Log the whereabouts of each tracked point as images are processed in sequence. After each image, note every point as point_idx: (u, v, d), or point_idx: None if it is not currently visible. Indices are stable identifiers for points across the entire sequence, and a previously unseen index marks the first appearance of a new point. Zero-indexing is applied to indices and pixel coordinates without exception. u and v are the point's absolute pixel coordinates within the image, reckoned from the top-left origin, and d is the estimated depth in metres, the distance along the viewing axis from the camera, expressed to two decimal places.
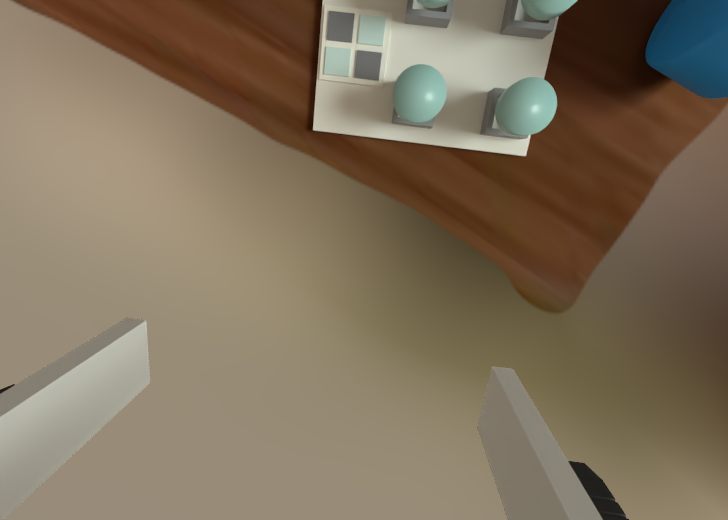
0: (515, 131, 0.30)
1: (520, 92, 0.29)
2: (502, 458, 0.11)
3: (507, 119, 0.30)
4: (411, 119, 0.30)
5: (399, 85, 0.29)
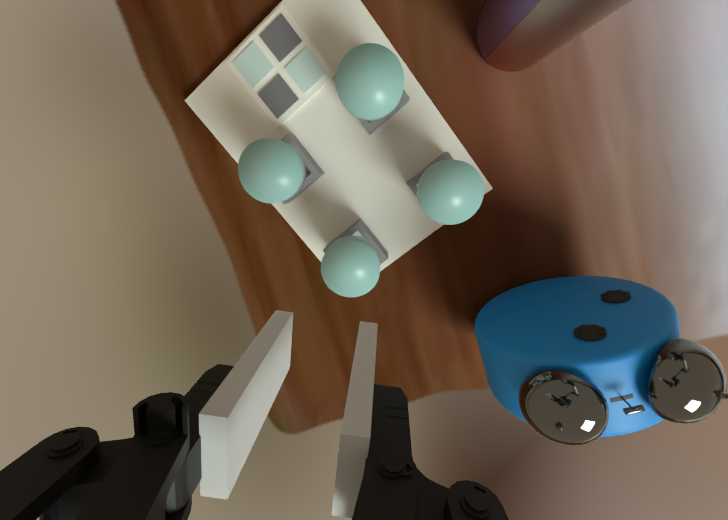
0: (324, 278, 0.27)
1: (352, 252, 0.26)
2: None
3: (325, 264, 0.26)
4: (244, 186, 0.25)
5: (256, 147, 0.24)
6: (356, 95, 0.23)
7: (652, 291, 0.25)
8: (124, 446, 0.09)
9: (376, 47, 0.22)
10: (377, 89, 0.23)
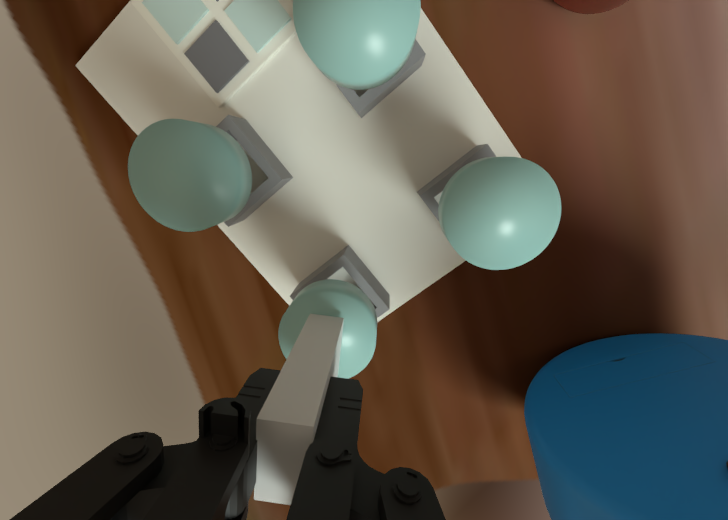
0: (284, 352, 0.16)
1: (329, 311, 0.16)
2: None
3: (286, 329, 0.16)
4: (142, 202, 0.15)
5: (156, 134, 0.14)
6: (331, 37, 0.12)
7: None
8: (185, 451, 0.09)
9: None
10: (370, 25, 0.12)
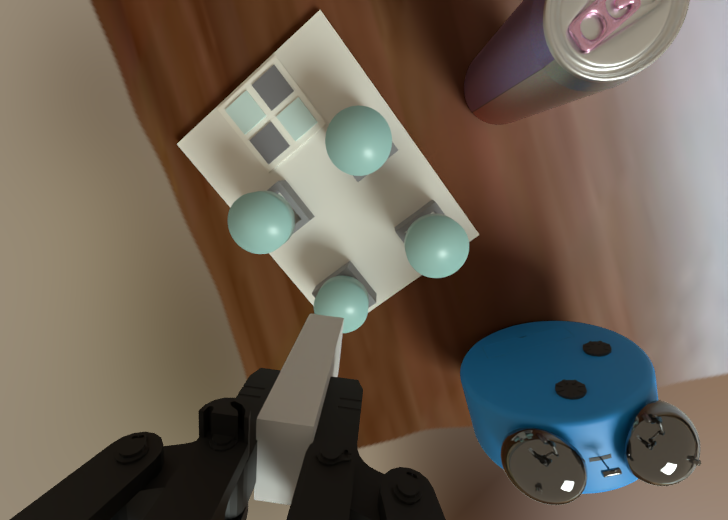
0: None
1: (343, 292, 0.28)
2: None
3: (318, 302, 0.29)
4: (234, 237, 0.26)
5: (246, 200, 0.25)
6: (345, 154, 0.24)
7: (631, 344, 0.26)
8: (185, 451, 0.09)
9: (365, 109, 0.23)
10: (365, 149, 0.23)
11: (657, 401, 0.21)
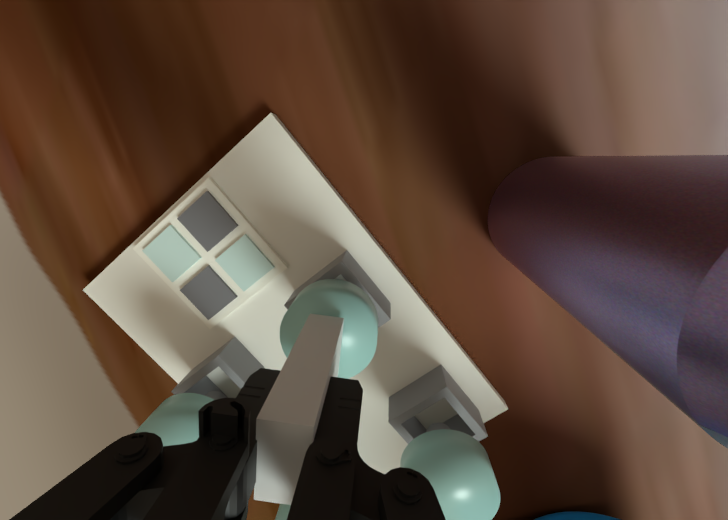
0: None
1: None
2: None
3: None
4: None
5: (154, 428, 0.16)
6: None
7: None
8: (185, 451, 0.09)
9: (336, 298, 0.15)
10: None
11: None
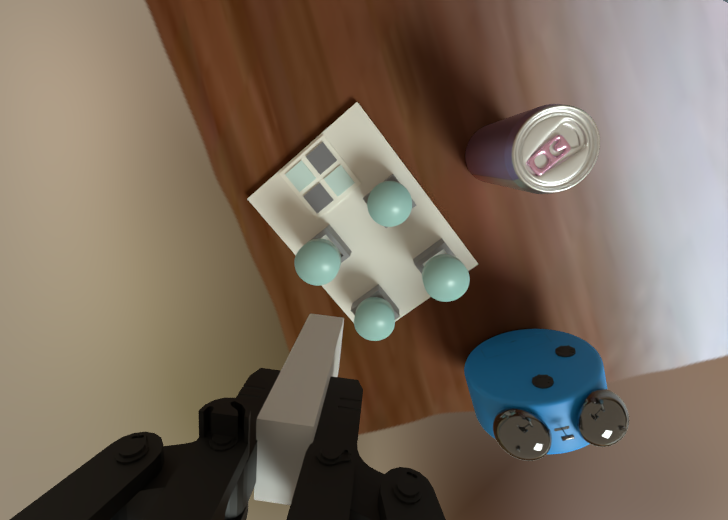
0: (356, 328, 0.39)
1: (376, 311, 0.38)
2: None
3: (357, 318, 0.38)
4: (298, 273, 0.35)
5: (308, 248, 0.34)
6: (380, 212, 0.35)
7: (590, 348, 0.35)
8: (185, 451, 0.09)
9: (394, 184, 0.34)
10: (394, 209, 0.35)
11: (601, 389, 0.31)
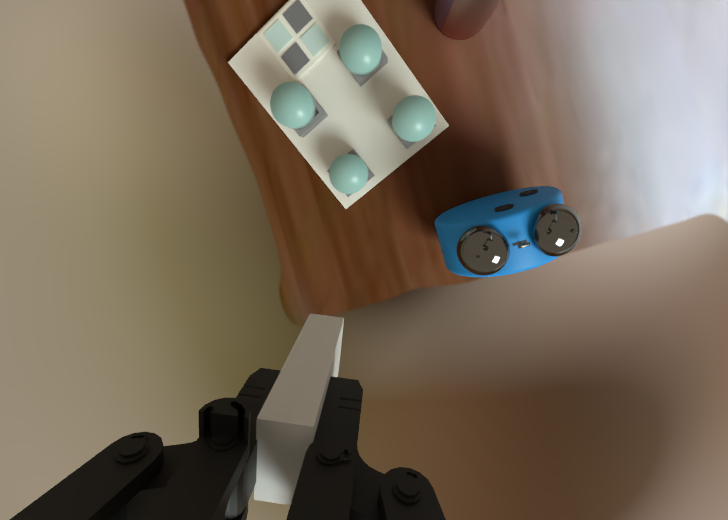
0: (331, 181, 0.41)
1: (349, 162, 0.40)
2: None
3: (332, 170, 0.40)
4: (274, 115, 0.37)
5: (282, 87, 0.36)
6: (352, 57, 0.37)
7: (551, 187, 0.37)
8: (185, 451, 0.09)
9: (364, 26, 0.36)
10: (365, 53, 0.37)
11: None
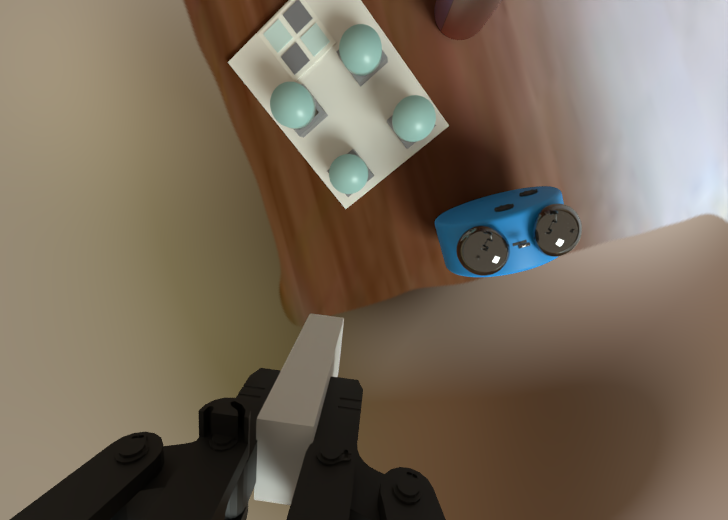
0: (331, 181, 0.41)
1: (349, 162, 0.40)
2: None
3: (332, 170, 0.40)
4: (274, 115, 0.37)
5: (282, 87, 0.36)
6: (352, 57, 0.37)
7: (551, 187, 0.37)
8: (185, 451, 0.09)
9: (364, 26, 0.36)
10: (365, 53, 0.37)
11: None
